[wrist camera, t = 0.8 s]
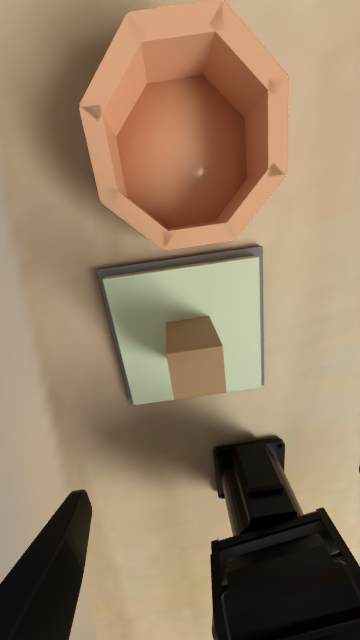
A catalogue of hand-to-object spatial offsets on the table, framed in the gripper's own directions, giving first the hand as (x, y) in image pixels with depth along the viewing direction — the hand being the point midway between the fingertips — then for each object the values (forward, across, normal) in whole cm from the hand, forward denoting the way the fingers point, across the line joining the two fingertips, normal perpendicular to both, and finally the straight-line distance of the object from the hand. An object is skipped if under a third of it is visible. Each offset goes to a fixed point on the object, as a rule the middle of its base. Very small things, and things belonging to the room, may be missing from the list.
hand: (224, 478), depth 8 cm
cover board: (+11, 0, 0) cm, 11 cm away
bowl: (+12, -1, -11) cm, 16 cm away
